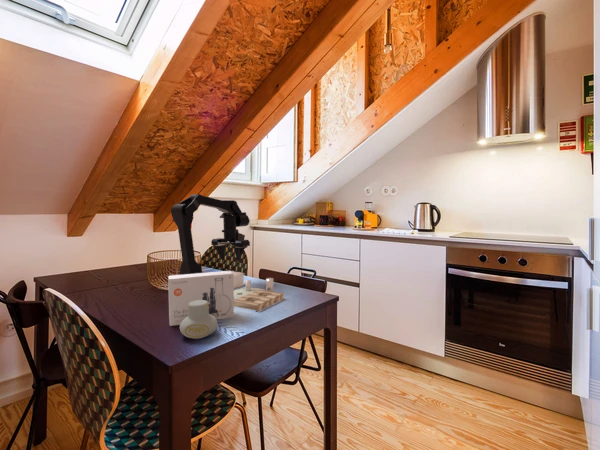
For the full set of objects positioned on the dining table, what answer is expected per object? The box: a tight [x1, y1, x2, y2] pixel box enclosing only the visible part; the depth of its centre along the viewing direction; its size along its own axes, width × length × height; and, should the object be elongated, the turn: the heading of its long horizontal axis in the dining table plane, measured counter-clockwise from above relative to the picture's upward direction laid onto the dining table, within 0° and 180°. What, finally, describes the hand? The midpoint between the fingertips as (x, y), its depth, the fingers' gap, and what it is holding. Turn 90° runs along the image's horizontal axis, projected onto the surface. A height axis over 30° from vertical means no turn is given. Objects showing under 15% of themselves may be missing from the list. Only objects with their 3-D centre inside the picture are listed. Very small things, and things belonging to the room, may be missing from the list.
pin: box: [265, 277, 274, 292], centre depth 140 cm, size 3×3×7 cm
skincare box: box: [167, 270, 235, 327], centre depth 110 cm, size 21×5×16 cm, turn 114°
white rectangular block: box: [232, 271, 244, 289], centre depth 151 cm, size 12×7×6 cm, turn 150°
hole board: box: [234, 289, 285, 313], centre depth 128 cm, size 18×12×2 cm, turn 151°
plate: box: [234, 279, 266, 299], centre depth 142 cm, size 16×11×5 cm
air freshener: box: [179, 300, 219, 340], centre depth 97 cm, size 11×8×10 cm
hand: (230, 260), depth 150 cm, fingers open, 9 cm apart
